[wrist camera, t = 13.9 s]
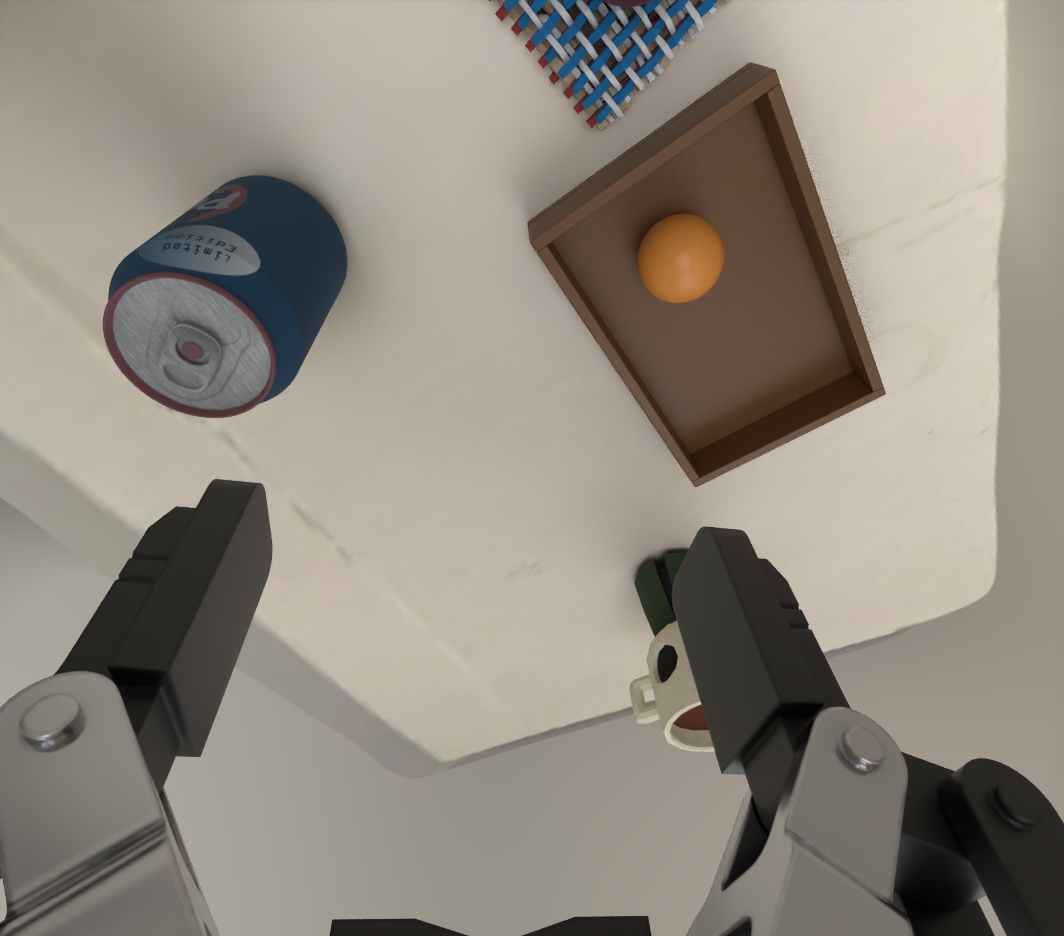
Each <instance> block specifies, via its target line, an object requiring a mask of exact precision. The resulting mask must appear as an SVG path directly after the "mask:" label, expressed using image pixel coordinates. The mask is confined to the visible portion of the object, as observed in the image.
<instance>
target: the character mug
mask: <svg viewBox="0 0 1064 936" xmlns="http://www.w3.org/2000/svg"><path fill="white" fill-rule="evenodd" d="M686 554H687V553H686V552H680V553H668V554H666V555H664V559H665V563H666V567H663V568H661V569H660V570H658V571H657V570H656V567H655V564H654V561H653V560H651V561H649V562H648V563H647V564H646V565H645V566H644V567H642V568H641V569H640V570H639V571H638V574H637V577H636V580H635V586H636V589H637V592H638V595H639V598H640V601H641V604H642V607H643V609H644V612H645V615H646V617H647V619H648V622H649V624H650V626H651V629H652V631H653V634H654V636H655V638H654V639H653V641H652V642H651V644H650V648H649V652H648V656H647V664H648V669H649V675H646V676H644V677H641V678H638V679H635V680H634V681H632V682H631V683H630V695H631V700H632V705H633V710H634V715H635V719H636V721H637V722H638V723H649V722H652V721H655V720H658V719H660V723H661V726H662V729H663V732H664V734H665V737H666V739H667V742H669V743H670V744H672V745H674V746H676V747H678V748H680V749H684V750H690V751H695V752H702V751H703V752H704V751H715V750H714V746H713V743H712V739H711V736H710V733H709V729H708V726H707V722H706V719H705V715H704V712H703V709H702V705H701V702H700V698H699V695H698V691H697V688H696V685H695V681H694V678H693V674H692V671H691V667H690V664H689V661H688V657H687V654H686V650H685V647H684V644H683V640H682V637H681V633H680V630H679V626H678V623H677V620H676V616H675V613H674V609H673V603H672V589H673V583H674V580H675V577H676V575H677V573H678V571H679V569H680V567H681V565H682V563H683V561H684V559H685V556H686ZM652 688H653V692H654V696H655V700H656V704H657V705H654V706H651V707H648V708H646V705H645V700H644V695H643V692H644V691H646V690H649V689H652Z"/></svg>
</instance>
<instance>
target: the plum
mask: <svg viewBox="0 0 1064 936" xmlns="http://www.w3.org/2000/svg"><path fill="white" fill-rule="evenodd" d="M602 1H604V2H606V3H608V4H611V5H614V6H619V7H636V6H641V5H644V4H647V3H650V2H652V1H654V0H602Z"/></svg>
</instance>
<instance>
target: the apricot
mask: <svg viewBox="0 0 1064 936" xmlns="http://www.w3.org/2000/svg"><path fill="white" fill-rule="evenodd" d="M723 263H724V247H723V243H722V240H721V237H720V235H719V233H718V232H717V230H716V229H715V228H714V226H713V225H712V224H711V223H709V222H708V221H707V220H705V219H704V218H702V217H699V216H696V215H693V214H676V215H672V216H669V217H666V218H664V219H662V220H660V221H659V222H658V223H656V224H655V225H654V226H653V227H652V228H651V229H650V230H649V231H648V232H647V234H646V235H645V237H644V238H643V240H642V242H641V244H640V247H639V251H638V256H637V268H638V273H639V276H640V279H641V281H642V283H643V285H644V286H645V288H646V289H647V290H648V291H649V292H650V293H651V294H652V295H653V296H655V297H656V298H658V299H660V300H662V301H665V302H669V303H685V302H689V301H692V300H695V299H697V298H699V297H701V296H702V295H704V294H705V293H706V292H707V291H709V290H710V289H711V287H712V286H713V285H714V284H715V282H716V281H717V279H718V277H719V275H720V273H721V271H722V268H723Z"/></svg>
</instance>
